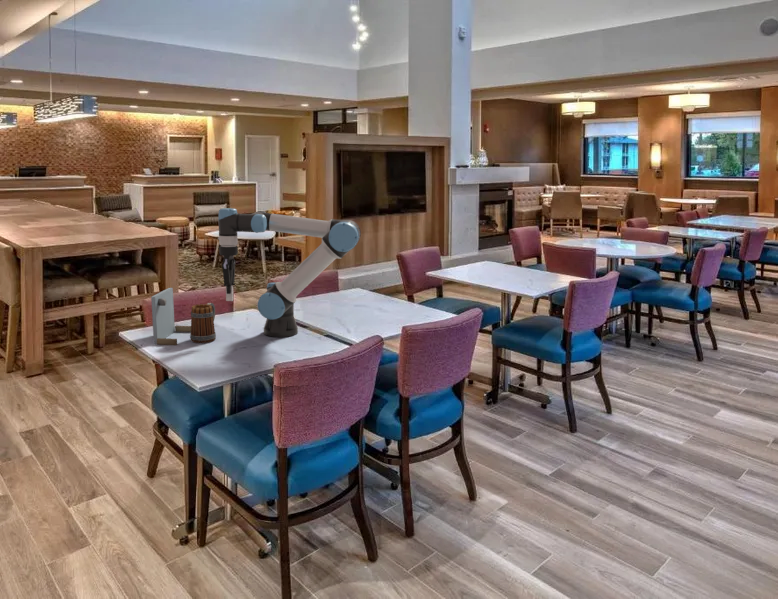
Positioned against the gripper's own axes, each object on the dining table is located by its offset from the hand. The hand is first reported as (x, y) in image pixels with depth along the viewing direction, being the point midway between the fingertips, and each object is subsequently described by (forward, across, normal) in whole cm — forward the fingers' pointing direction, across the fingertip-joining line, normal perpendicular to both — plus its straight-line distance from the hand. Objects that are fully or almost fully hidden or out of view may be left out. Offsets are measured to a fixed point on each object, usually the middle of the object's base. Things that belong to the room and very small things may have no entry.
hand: (229, 300), depth 267 cm
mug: (+17, 0, -11) cm, 20 cm away
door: (+17, 0, -28) cm, 33 cm away
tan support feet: (+17, 0, -24) cm, 29 cm away
